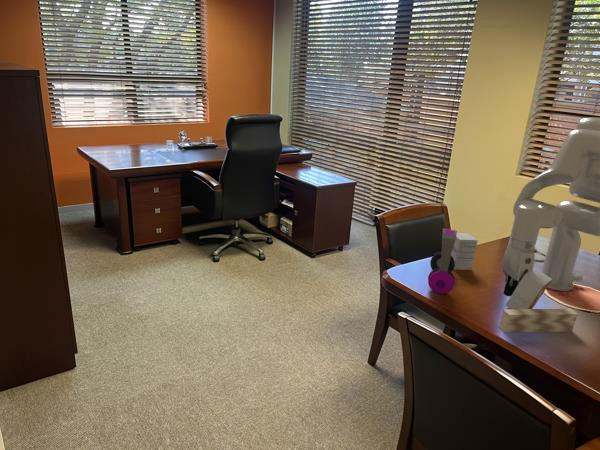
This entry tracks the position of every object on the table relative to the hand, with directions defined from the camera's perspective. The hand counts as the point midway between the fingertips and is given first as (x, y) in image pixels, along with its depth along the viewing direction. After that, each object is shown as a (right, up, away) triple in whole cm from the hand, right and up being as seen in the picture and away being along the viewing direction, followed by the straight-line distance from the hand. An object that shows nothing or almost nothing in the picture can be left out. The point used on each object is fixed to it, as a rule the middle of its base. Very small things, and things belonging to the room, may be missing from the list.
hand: (509, 294), depth 147 cm
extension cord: (+31, +10, +45) cm, 56 cm away
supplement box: (-7, +7, +28) cm, 30 cm away
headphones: (-19, +2, +13) cm, 23 cm away
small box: (+2, -4, -3) cm, 5 cm away
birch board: (+2, -8, -13) cm, 15 cm away
